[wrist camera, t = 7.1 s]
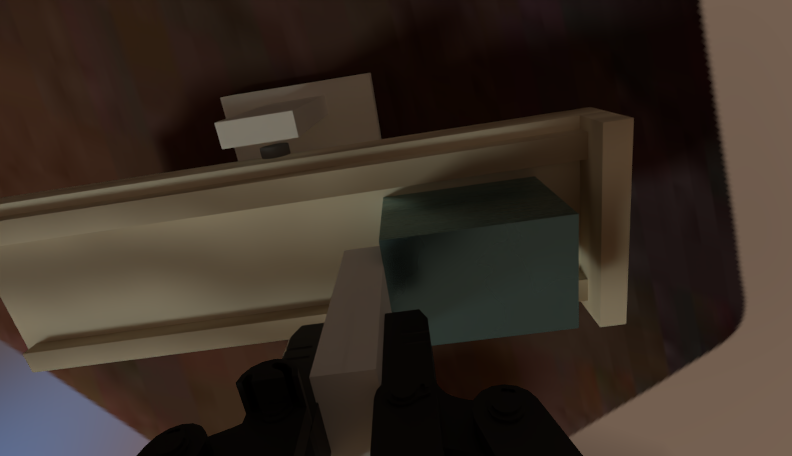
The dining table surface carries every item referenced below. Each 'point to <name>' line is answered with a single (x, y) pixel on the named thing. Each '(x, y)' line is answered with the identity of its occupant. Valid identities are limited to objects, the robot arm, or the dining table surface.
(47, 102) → the dining table surface
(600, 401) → the dining table surface
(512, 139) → the balance beam
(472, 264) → the rider
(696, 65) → the dining table surface
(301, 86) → the pivot stand
